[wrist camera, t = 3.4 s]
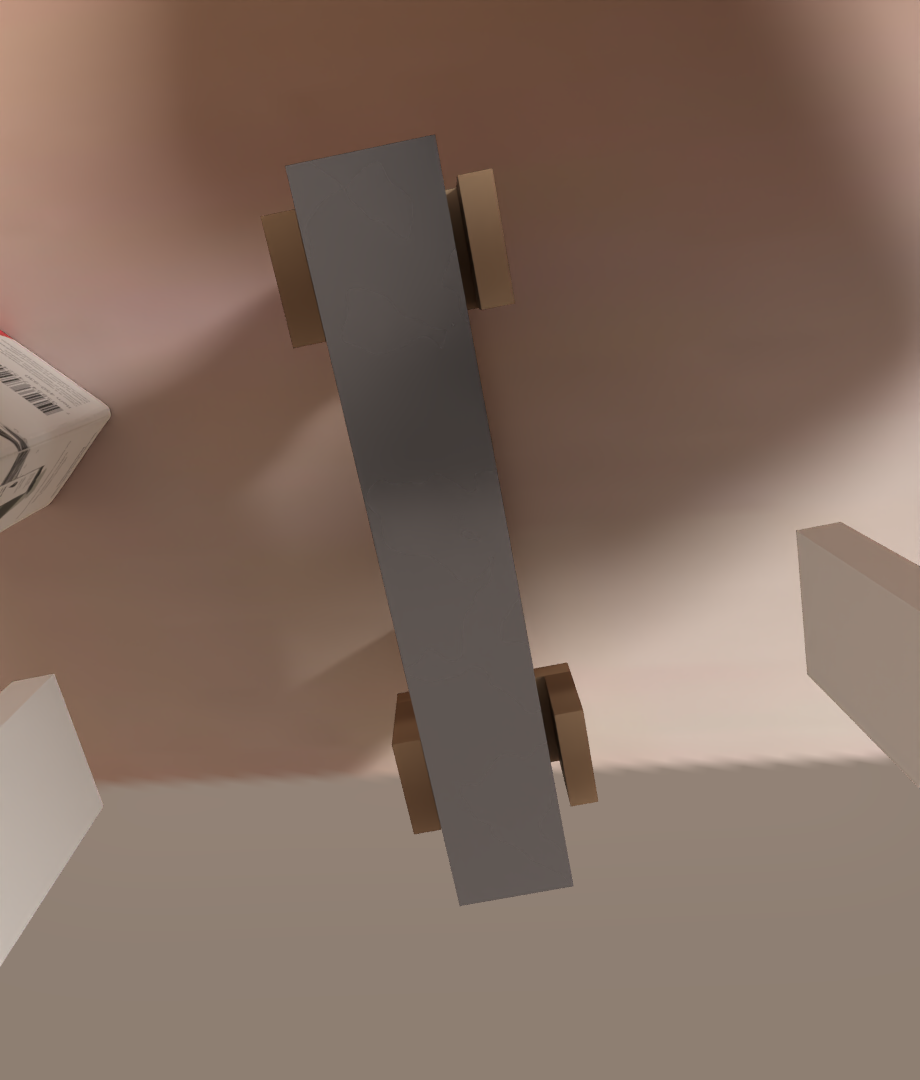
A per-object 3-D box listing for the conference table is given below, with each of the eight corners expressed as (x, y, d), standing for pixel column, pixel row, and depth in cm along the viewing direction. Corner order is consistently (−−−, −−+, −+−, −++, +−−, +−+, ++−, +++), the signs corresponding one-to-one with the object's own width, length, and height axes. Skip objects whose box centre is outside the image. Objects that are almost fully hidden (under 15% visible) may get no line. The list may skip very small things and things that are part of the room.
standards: (318, 225, 28) (254, 192, 19) (472, 193, 28) (488, 144, 18) (424, 688, 33) (417, 848, 24) (555, 664, 33) (600, 816, 24)
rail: (321, 193, 21) (285, 165, 16) (436, 169, 21) (434, 134, 16) (456, 792, 26) (459, 905, 21) (549, 776, 26) (573, 886, 21)
